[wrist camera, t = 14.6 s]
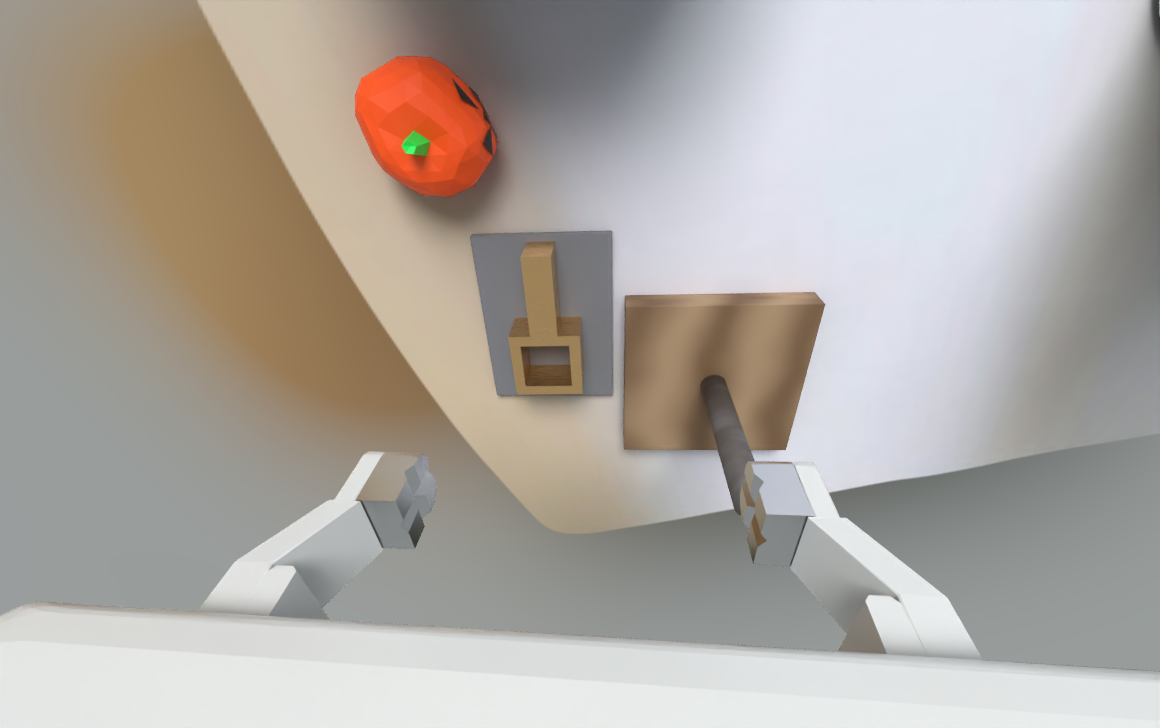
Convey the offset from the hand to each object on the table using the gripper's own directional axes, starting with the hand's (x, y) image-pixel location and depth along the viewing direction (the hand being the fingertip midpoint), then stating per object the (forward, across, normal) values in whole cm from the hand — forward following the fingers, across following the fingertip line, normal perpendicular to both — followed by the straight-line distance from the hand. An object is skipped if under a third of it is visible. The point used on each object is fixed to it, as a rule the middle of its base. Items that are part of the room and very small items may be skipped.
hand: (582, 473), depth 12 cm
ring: (+23, +5, +8) cm, 25 cm away
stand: (+24, -8, +14) cm, 29 cm away
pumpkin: (+24, +11, -5) cm, 27 cm away
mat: (+24, +5, +9) cm, 26 cm away
